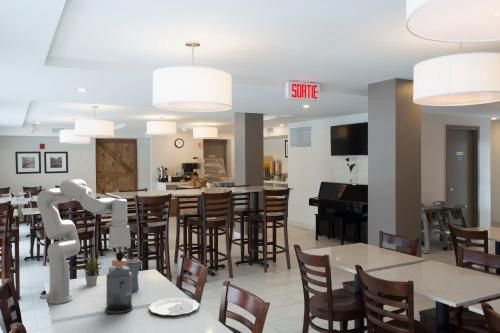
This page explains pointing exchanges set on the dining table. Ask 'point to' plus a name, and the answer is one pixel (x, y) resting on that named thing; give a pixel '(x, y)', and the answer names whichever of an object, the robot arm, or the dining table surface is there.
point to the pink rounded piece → (119, 263)
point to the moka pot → (134, 271)
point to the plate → (171, 305)
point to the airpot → (119, 291)
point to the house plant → (91, 272)
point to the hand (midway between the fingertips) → (119, 260)
